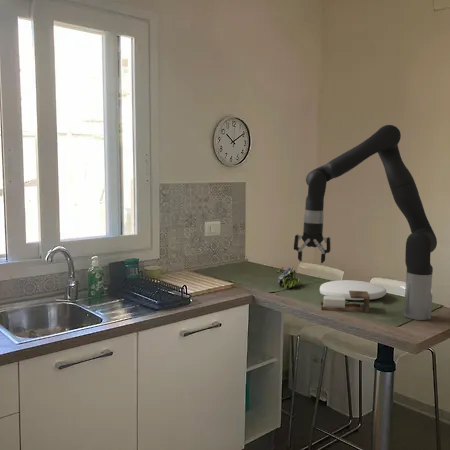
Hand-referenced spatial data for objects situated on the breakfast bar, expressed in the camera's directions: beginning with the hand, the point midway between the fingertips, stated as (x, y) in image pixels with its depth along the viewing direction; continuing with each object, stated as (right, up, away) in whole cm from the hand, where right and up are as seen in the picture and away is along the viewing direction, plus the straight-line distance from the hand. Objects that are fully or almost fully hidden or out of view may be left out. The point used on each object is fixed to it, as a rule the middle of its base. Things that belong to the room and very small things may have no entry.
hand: (311, 261), depth 207 cm
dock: (+13, -19, -2) cm, 23 cm away
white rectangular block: (+9, -18, -1) cm, 20 cm away
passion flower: (-5, -14, +36) cm, 39 cm away
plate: (+21, -17, +21) cm, 35 cm away
